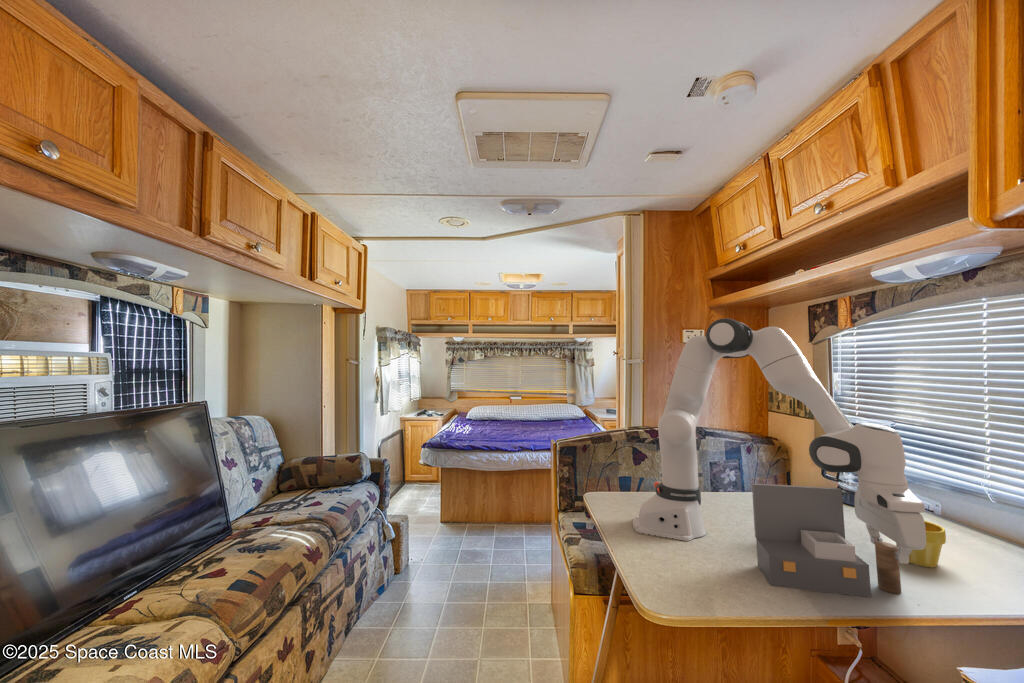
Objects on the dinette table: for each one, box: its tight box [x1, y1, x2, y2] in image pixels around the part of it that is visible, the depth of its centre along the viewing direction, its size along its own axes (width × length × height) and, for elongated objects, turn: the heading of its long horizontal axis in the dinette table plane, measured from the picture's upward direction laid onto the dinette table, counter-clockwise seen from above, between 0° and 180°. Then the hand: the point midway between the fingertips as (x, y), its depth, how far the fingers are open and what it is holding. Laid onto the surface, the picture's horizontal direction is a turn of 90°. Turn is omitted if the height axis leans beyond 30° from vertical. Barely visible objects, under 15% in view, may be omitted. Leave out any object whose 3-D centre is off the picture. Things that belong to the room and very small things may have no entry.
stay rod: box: [874, 541, 902, 595], centre depth 94 cm, size 4×4×10 cm
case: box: [751, 482, 872, 598], centre depth 99 cm, size 20×12×21 cm, turn 74°
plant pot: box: [909, 520, 947, 568], centre depth 107 cm, size 10×10×10 cm
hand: (889, 552), depth 95 cm, fingers open, 8 cm apart
